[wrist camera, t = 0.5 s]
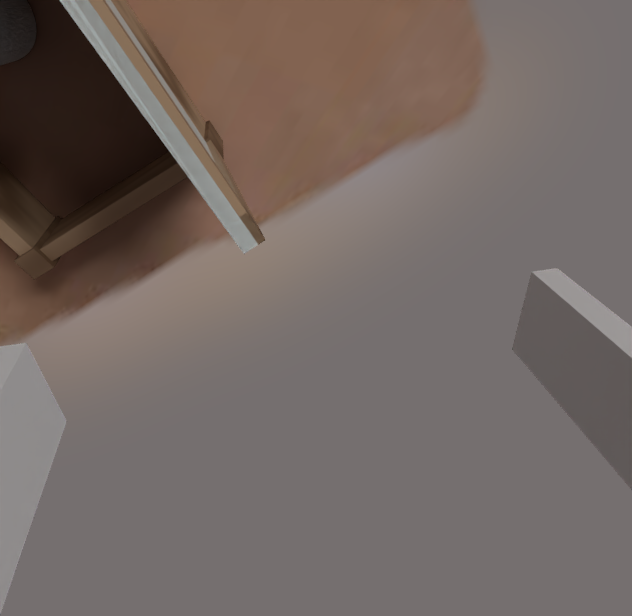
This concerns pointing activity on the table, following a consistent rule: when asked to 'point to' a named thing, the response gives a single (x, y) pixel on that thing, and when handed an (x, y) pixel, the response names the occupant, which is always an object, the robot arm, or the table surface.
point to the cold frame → (64, 234)
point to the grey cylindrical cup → (16, 30)
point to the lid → (166, 115)
